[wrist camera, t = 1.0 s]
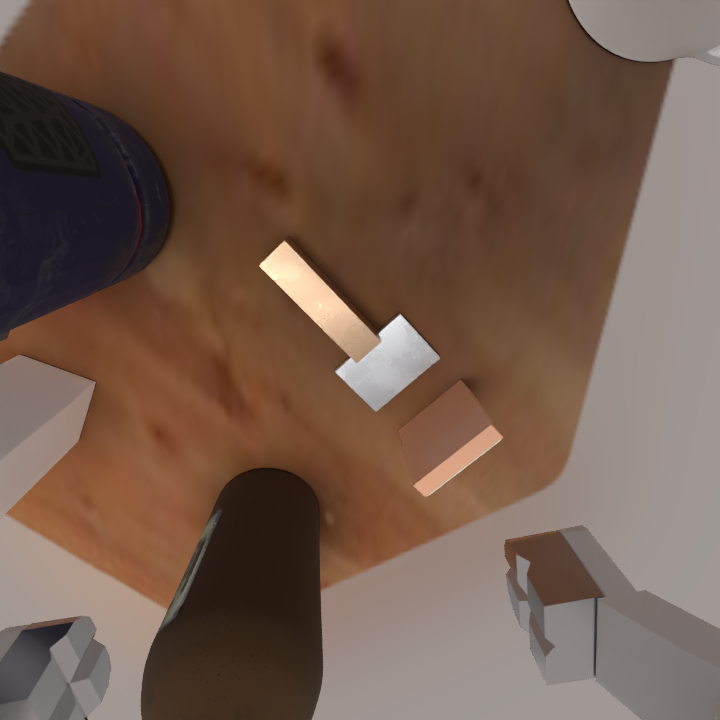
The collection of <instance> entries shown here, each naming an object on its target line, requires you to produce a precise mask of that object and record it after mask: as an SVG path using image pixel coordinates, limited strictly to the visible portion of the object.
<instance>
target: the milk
mask: <svg viewBox="0 0 720 720" xmlns="http://www.w3.org/2000/svg"><path fill="white" fill-rule="evenodd" d="M95 384H96V382H95V381H92V380H89V379H87V378H84V377H81V376H78V375H76V374H73V373H70V372H67V371H64V370H62V369H59V368H56V367H53V366H51V365H48V364H45V363H42V362H39V361H37V360H34V359H31V358H28V357H26V356H23V355H17V356H16V357H14V358H12V359H10V360H8V361H6V362H4V363H2V364H0V518H1V517H2V516H4V515H5V514H6V513H7V512H8V511H9V510H10V509H11V508H12V507H13V506H14V505H15V504H16V503H17V502H18V501H19V500H20V499H21V498H22V497H23V496H24V495H25V494H26V493H27V492H28V491H29V490H30V489H31V488H32V487H33V486H34V485H35V484H36V483H37V482H38V481H39V480H40V479H41V478H42V477H43V476H44V475H45V474H46V473H47V472H48V471H49V470H50V469H51V468H52V467H53V466H54V465H55V464H56V463H57V462H58V461H59V460H60V459H61V458H62V457H63V456H64V455H65V454H66V453H67V452H68V451H69V450H70V449H71V448H72V447H73V446H74V445H75V444H76V443H77V442H78V441H79V438H80V435H81V431H82V428H83V425H84V421H85V418H86V415H87V411H88V408H89V404H90V401H91V398H92V394H93V391H94V388H95Z"/></svg>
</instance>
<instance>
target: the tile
mask: <svg viewBox="0 0 720 720" xmlns="http://www.w3.org/2000/svg"><path fill="white" fill-rule="evenodd" d="M398 432H399V436H400V439H401V443H402V447H403V450H404V454H405V458H406V461H407V465H408V469H409V472H410V476H411V479H412V483H413V486H414V487H415V488H416V489H417V490H418V491H419V492H421V493H422V494H423V495H424V496H425V497H427V496H428V495H430V494H432V493H433V492H434V491H436V490H437V489H438V488H439V487H441V486H442V485H443V484H445V483H446V482H447V481H449V480H450V479H451V478H452V477H454V476H455V475H456V474H458V473H459V472H460V471H461V470H463V469H464V468H465V467H467V466H468V465H469V464H471V463H472V462H473V461H474V460H476V459H477V458H478V457H480V456H481V455H482V454H484V453H485V452H486V451H487V450H489V449H490V448H491V447H493V446H494V445H495V444H497V443H498V442H499V441H500V440H501V439H502V438H503V437H502V435H501V434H500V432H499V431H498V429H497V428H496V426H495V425H494V423H493V422H492V421H491V419H490V418H489V416H488V415H487V413H486V412H485V410H484V409H483V408H482V406H481V405H480V403H479V402H478V400H477V399H476V397H475V396H474V394H473V393H472V392H471V390H470V389H469V388H468V387H467V386H466V385H465V384H464V382H463V381H462V380H461V379H460V380H459V381H458V382H457V383H456V384H454V385H453V386H452V387H451V388H449V389H448V390H447V391H446V392H445V393H443V394H442V395H441V396H440V397H438V398H437V399H436V400H435V401H434V402H432V403H431V404H430V405H429V406H427V407H426V408H425V409H424V410H423V411H421V412H420V413H419V414H418V415H416V416H415V417H414V418H413V419H412V420H410V421H409V422H408V423H407V424H405V425H404V426H403V427H402V428H401V429H399V430H398Z"/></svg>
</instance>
